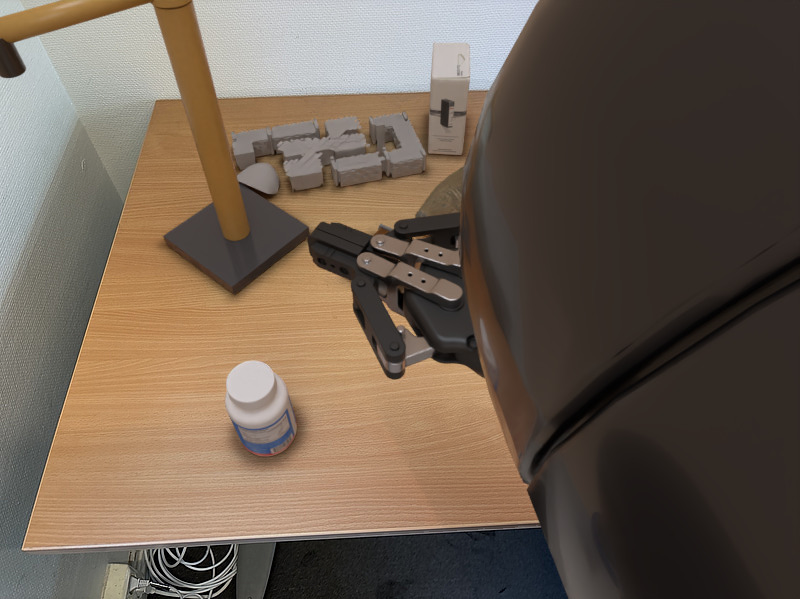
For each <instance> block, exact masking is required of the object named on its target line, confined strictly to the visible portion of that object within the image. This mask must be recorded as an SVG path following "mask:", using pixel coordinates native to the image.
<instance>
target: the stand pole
mask: <svg viewBox="0 0 800 599" xmlns="http://www.w3.org/2000/svg"><path fill="white" fill-rule="evenodd" d="M152 7H153V9H154V10H153V11H154V13H155V16H156V19H157V23H158V26H159V29H160V33H161V36H162V40H163V43H164V46H165V50H166V53H167V55H168V59H169V62H170V66H171V69H172V72H173V76H174V79H175V82H176V85H177V89H178V93H179V96H180V98H181V102H182V105H183V108H184V112H185V115H186V118H187V121H188V124H189V128H190V131H191V135H192V138H193V141H194V145H195V148H196V151H197V154H198V159H199V161H200V164H201V168H202V171H203V174H204V177H205V180H206V184H207V187H208V191H209V194H210V197H211V200H212V202H213V204H214V207H215V210H216V214H217V217H218V220H219V223H220V227H221V230H222V233H223V236H224V237H225V238H226V239H228V240H231V241H238V240H241V239H244V238H245V237H247V236H248V234H249V232H250V226H249V222H248V218H247V214H246V210H245V206H244V202H243V198H242V194H241V190H240V186H239V184H240V182H239V181H238V179H237V175H238V174H237V171H236V168H235V162H234V158H233V156H232V151H231V148H230V144H229V139H228V135H227V131H226V128H225V123H224V119H223V114H222V111H221V107H220V105H219V100H218V96H217V92H216V91H217V90H216V87H215V84H214V79H213V75H212V72H211V68H210V64H209V60H208V55H207V52H206V47H205V44H204V39H203V36H202V31H201V28H200V24H199V20H198V16H197V12H196V8H195V5H194V1H193V0H191V1H190V2H189V3H187V4H185V5H183V6H180V7H175V8H160V7H156V6H154V5H152Z"/></svg>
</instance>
